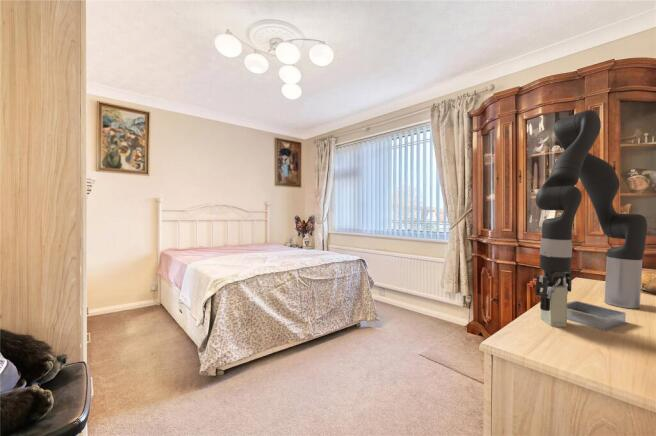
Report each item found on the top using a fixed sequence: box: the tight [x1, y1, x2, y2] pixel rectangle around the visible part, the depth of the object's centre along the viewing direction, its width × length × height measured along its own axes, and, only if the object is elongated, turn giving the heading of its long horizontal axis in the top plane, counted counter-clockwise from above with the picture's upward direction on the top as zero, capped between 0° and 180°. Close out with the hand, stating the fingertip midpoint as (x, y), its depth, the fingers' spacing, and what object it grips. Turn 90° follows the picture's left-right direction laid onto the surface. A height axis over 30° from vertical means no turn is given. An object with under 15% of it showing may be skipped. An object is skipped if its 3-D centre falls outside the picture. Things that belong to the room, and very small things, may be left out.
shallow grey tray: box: [567, 300, 627, 331], centre depth 92 cm, size 13×13×3 cm
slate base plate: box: [567, 310, 630, 332], centre depth 92 cm, size 14×14×1 cm
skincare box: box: [540, 286, 568, 328], centre depth 88 cm, size 6×4×12 cm
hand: (553, 308), depth 88 cm, fingers open, 8 cm apart
